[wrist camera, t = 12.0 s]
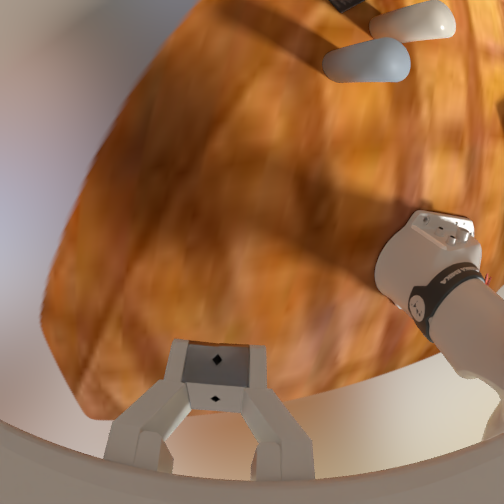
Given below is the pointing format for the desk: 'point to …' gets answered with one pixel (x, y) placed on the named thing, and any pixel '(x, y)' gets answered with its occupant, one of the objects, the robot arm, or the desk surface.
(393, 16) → the cream post
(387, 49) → the slate post
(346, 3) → the small box
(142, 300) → the desk surface
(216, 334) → the desk surface
